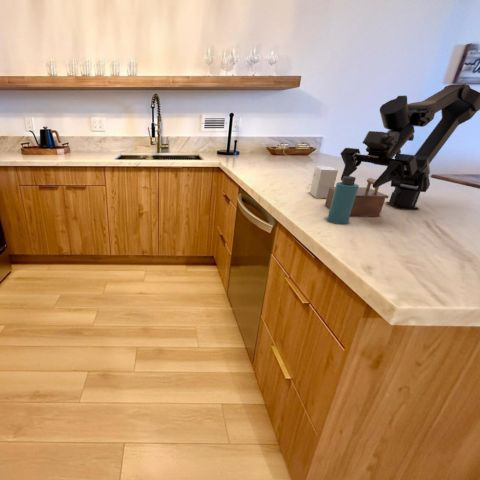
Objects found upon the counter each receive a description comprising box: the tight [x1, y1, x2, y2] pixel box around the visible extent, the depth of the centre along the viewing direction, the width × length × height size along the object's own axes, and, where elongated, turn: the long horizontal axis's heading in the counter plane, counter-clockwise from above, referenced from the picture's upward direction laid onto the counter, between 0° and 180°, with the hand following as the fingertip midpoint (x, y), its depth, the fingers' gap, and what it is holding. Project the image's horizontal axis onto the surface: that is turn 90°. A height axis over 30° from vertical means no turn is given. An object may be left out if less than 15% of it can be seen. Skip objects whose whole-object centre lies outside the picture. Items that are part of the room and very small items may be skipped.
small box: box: [309, 165, 339, 199], centre depth 108 cm, size 8×6×10 cm
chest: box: [324, 189, 386, 218], centre depth 92 cm, size 12×11×6 cm
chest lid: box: [329, 177, 389, 199], centre depth 90 cm, size 12×11×4 cm
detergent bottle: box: [327, 175, 360, 225], centre depth 82 cm, size 5×5×13 cm
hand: (356, 183), depth 82 cm, fingers open, 9 cm apart
